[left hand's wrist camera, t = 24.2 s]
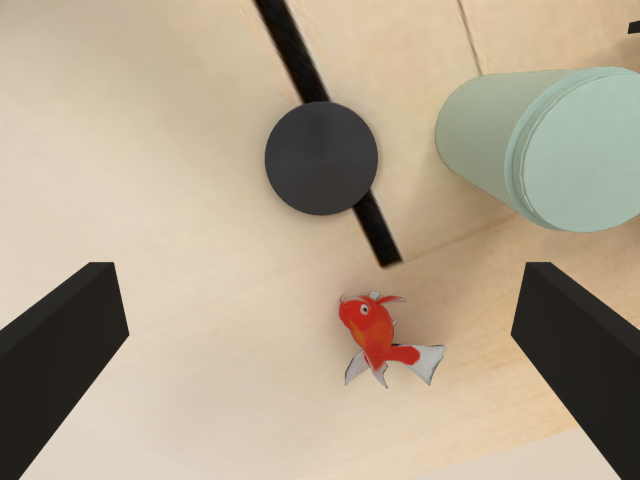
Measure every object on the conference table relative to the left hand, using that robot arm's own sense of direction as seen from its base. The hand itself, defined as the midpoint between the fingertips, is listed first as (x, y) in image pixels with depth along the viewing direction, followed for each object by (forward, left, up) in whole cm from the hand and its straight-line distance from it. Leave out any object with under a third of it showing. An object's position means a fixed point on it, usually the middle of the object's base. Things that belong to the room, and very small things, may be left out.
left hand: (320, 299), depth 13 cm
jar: (+15, +6, -27) cm, 31 cm away
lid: (0, 0, -26) cm, 26 cm away
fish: (+11, -17, -27) cm, 34 cm away
